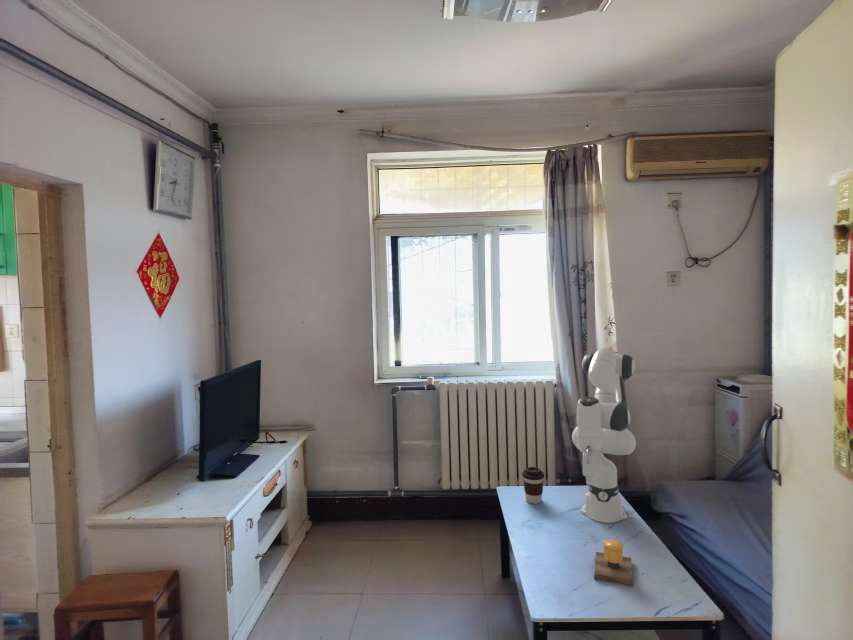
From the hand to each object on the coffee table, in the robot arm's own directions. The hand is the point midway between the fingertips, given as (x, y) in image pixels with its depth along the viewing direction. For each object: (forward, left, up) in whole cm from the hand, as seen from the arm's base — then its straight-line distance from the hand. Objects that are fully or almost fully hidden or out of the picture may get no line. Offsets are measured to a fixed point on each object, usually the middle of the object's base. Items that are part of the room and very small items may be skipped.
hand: (589, 478), depth 175 cm
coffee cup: (-38, -27, -29) cm, 55 cm away
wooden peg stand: (+8, +8, -29) cm, 31 cm away
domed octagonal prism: (+8, +8, -24) cm, 27 cm away
